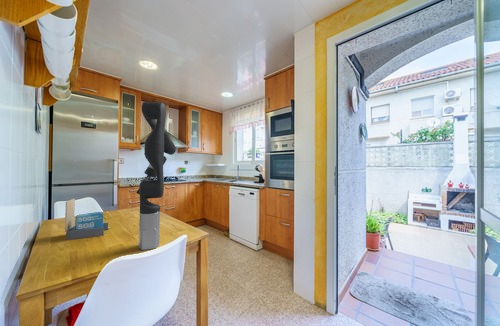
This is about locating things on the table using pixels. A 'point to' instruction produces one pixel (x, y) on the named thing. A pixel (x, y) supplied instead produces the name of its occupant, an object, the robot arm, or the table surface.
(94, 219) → the blue carton
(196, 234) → the table surface
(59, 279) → the table surface
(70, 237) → the mailer box
